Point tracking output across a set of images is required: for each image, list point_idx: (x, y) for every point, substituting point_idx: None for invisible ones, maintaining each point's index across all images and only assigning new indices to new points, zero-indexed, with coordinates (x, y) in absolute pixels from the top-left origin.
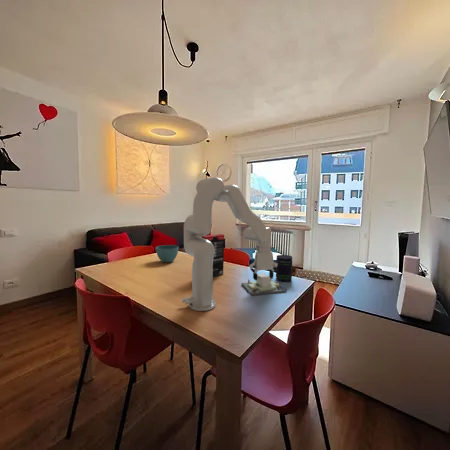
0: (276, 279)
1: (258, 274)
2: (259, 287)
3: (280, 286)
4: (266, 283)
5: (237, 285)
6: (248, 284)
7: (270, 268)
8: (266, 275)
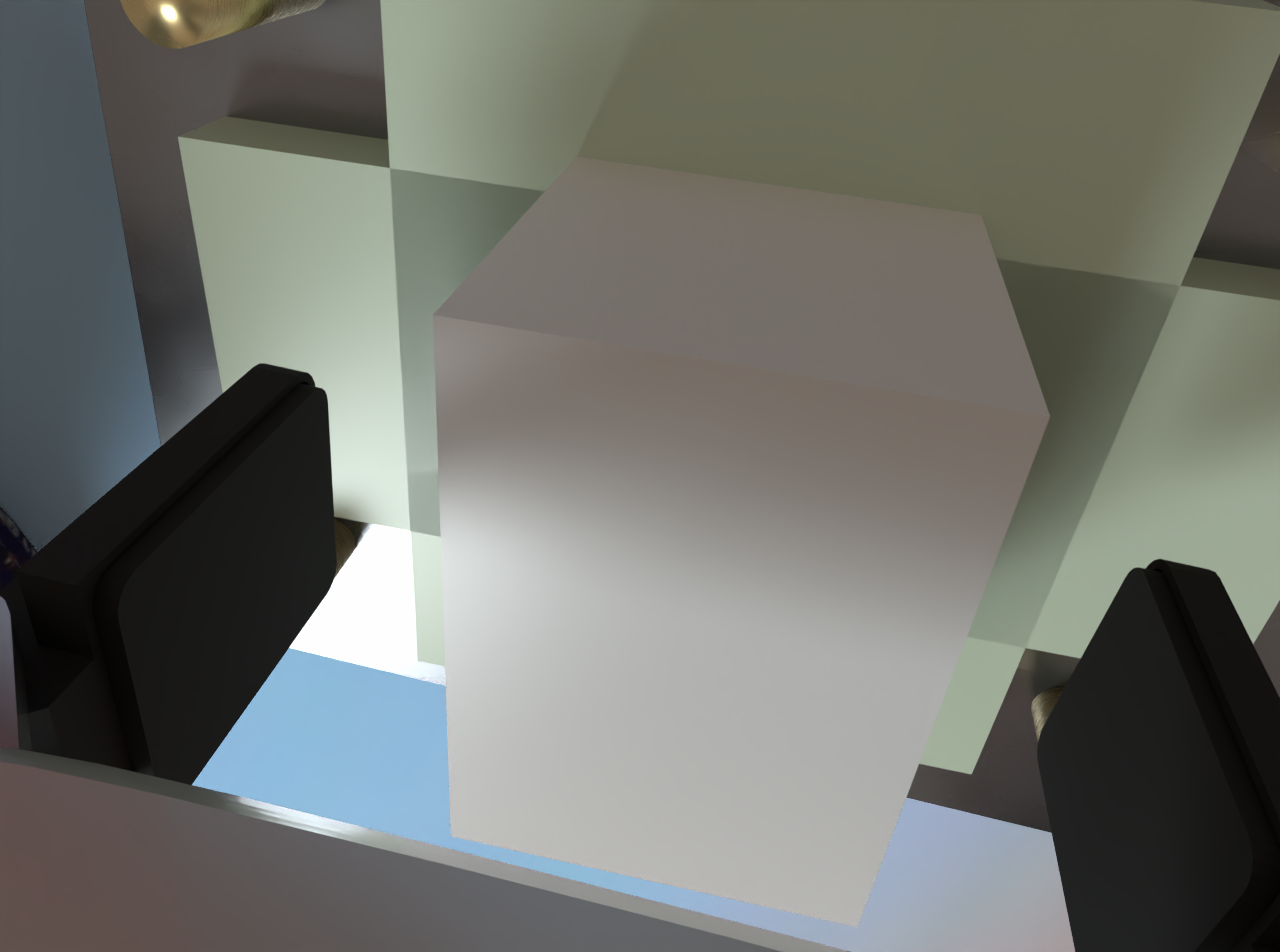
0: None
1: (778, 880)
2: (1126, 224)
3: (135, 91)
4: (750, 224)
5: None
6: None
7: (1, 839)
8: (492, 628)
